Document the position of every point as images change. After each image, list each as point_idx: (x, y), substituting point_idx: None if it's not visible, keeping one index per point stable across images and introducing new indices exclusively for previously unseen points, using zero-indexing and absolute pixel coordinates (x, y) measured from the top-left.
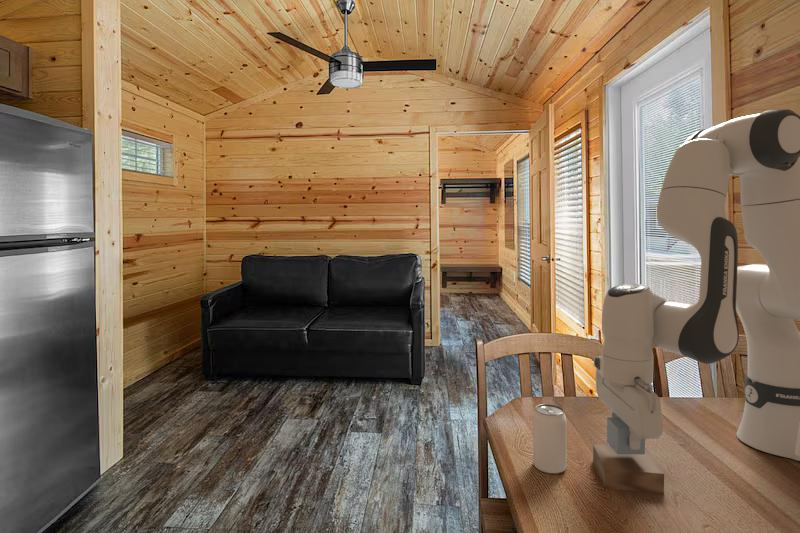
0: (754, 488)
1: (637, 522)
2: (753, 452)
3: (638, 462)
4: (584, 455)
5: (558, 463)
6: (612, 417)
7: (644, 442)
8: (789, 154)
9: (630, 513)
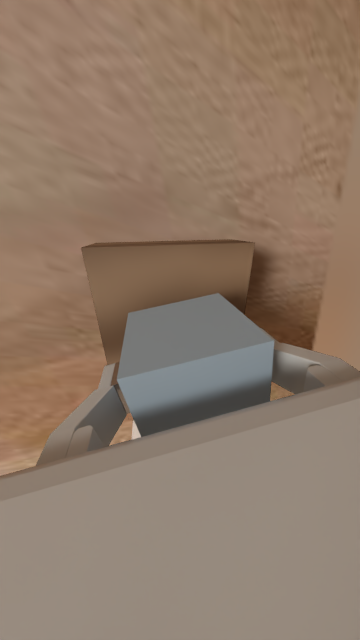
0: None
1: (310, 313)
2: None
3: (196, 297)
4: (95, 371)
5: None
6: (110, 440)
7: (237, 311)
8: None
9: (289, 318)
